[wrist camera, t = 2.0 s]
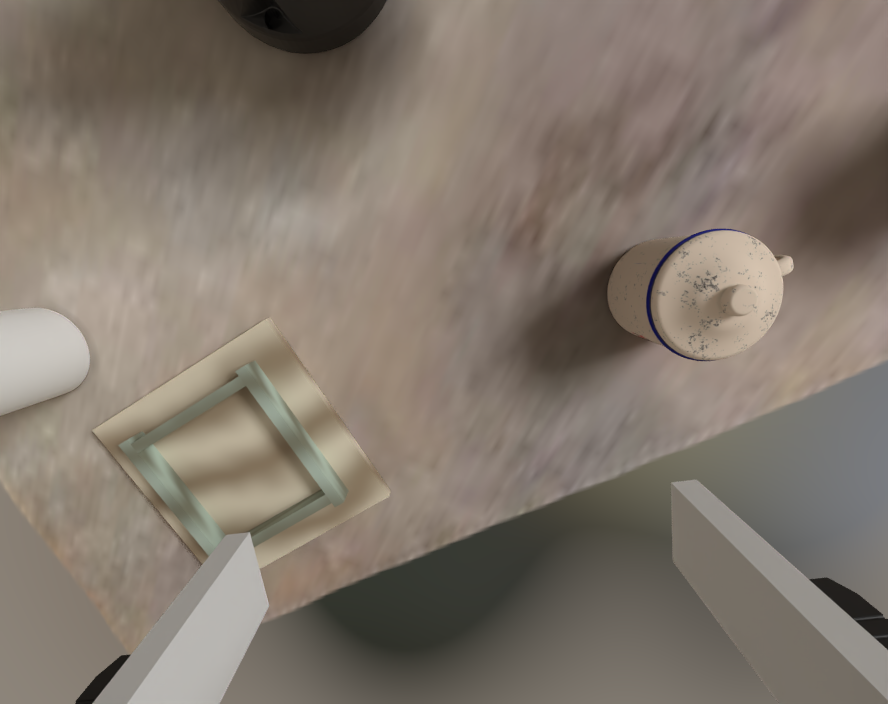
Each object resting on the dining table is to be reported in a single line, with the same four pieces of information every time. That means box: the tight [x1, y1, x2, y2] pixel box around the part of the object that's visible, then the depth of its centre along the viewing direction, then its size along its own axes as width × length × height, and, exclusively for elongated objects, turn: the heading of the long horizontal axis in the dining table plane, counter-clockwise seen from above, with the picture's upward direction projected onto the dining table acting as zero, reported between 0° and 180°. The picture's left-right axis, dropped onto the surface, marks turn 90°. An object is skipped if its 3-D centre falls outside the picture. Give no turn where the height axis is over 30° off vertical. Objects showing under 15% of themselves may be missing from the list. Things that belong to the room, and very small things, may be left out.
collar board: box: [92, 318, 391, 569], centre depth 40 cm, size 20×20×3 cm
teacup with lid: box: [607, 229, 794, 361], centre depth 32 cm, size 12×9×12 cm
